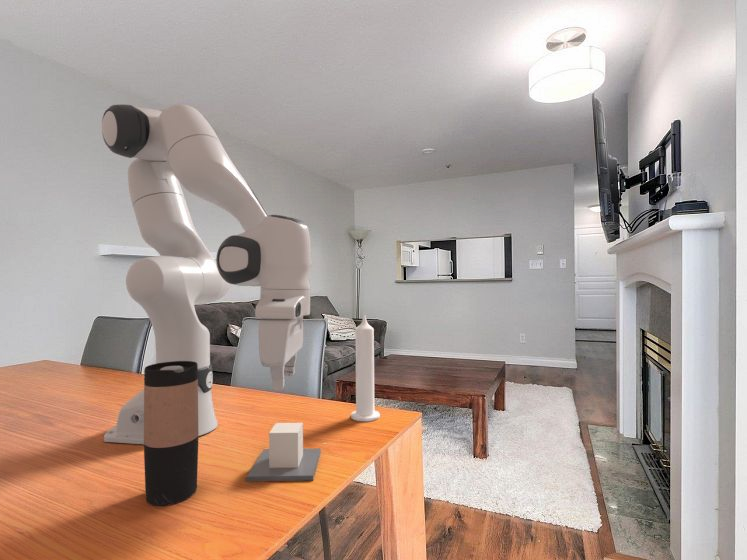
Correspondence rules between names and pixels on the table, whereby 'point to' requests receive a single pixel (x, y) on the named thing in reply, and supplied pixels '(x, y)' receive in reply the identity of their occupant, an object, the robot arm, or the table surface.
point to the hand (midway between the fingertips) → (284, 381)
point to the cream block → (286, 445)
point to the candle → (364, 373)
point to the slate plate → (300, 473)
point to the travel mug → (170, 431)
